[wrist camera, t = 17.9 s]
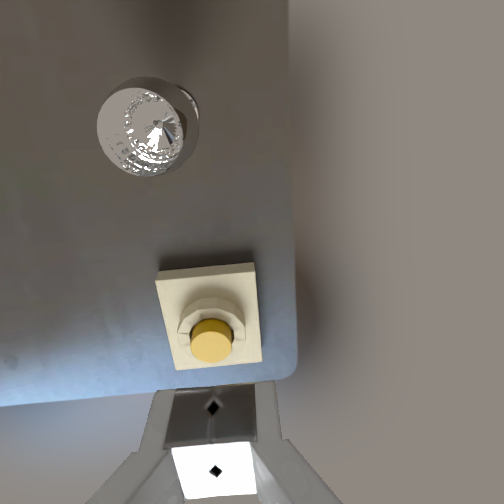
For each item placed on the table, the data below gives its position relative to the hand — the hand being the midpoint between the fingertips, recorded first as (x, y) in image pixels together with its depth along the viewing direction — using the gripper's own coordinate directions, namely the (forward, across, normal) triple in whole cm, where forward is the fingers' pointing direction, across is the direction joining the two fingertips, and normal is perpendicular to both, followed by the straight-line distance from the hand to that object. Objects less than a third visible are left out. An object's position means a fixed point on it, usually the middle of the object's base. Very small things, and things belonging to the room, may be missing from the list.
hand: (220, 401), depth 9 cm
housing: (+26, +4, +16) cm, 30 cm away
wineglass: (+26, +5, -5) cm, 27 cm away
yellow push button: (+22, +4, +16) cm, 27 cm away
